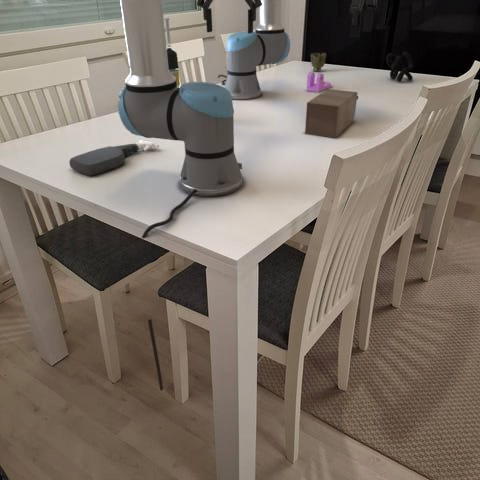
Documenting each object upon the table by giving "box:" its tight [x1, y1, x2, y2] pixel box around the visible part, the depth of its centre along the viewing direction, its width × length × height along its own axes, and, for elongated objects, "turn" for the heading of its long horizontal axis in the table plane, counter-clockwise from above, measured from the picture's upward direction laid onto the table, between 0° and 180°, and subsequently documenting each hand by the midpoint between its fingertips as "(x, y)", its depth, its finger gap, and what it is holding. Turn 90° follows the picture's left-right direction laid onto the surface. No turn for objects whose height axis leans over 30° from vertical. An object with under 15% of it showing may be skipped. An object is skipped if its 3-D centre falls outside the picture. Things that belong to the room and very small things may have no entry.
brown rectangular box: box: [304, 88, 358, 139], centre depth 143 cm, size 19×10×10 cm, turn 151°
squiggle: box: [385, 51, 414, 83], centre depth 198 cm, size 11×10×15 cm
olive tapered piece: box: [310, 52, 327, 72], centre depth 217 cm, size 8×7×8 cm
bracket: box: [306, 71, 332, 93], centre depth 188 cm, size 13×6×7 cm, turn 143°
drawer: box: [354, 92, 359, 117], centre depth 148 cm, size 24×9×8 cm, turn 151°
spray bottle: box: [68, 139, 160, 177], centre depth 124 cm, size 3×11×24 cm
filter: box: [164, 17, 181, 89], centre depth 163 cm, size 6×6×30 cm
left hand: (229, 32), depth 139 cm, fingers open, 13 cm apart
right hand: (360, 34), depth 141 cm, fingers open, 13 cm apart
